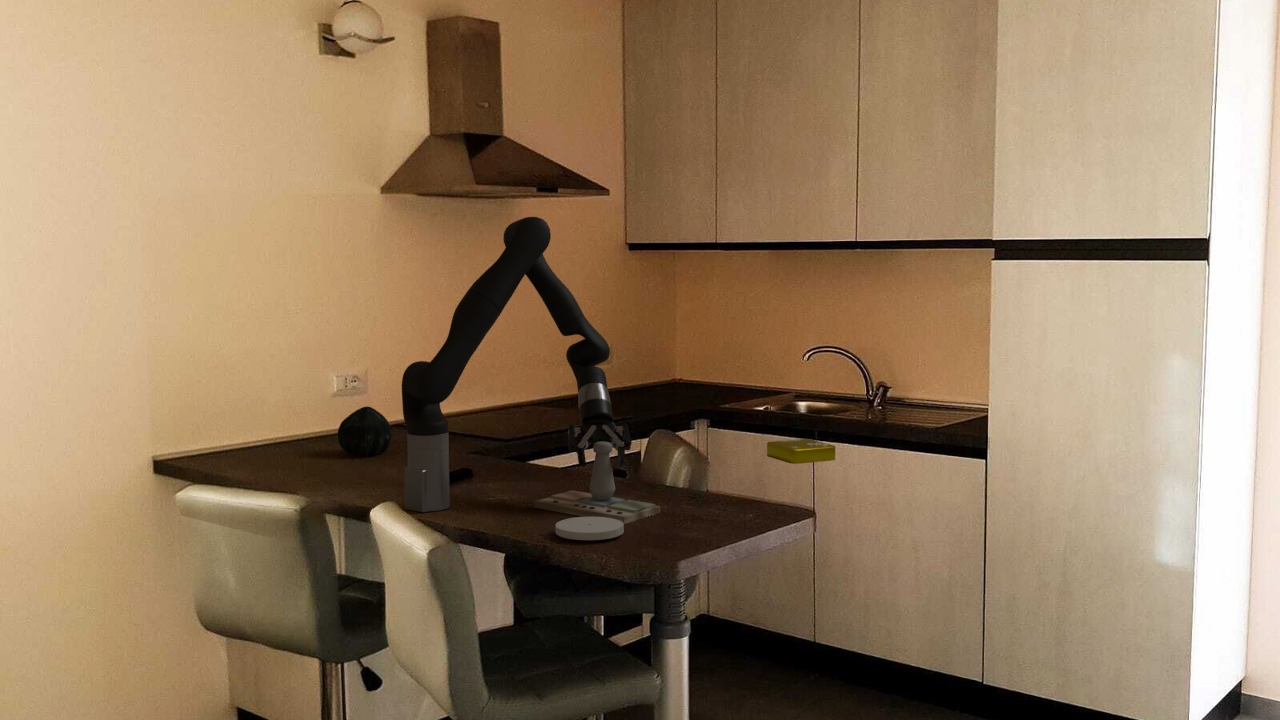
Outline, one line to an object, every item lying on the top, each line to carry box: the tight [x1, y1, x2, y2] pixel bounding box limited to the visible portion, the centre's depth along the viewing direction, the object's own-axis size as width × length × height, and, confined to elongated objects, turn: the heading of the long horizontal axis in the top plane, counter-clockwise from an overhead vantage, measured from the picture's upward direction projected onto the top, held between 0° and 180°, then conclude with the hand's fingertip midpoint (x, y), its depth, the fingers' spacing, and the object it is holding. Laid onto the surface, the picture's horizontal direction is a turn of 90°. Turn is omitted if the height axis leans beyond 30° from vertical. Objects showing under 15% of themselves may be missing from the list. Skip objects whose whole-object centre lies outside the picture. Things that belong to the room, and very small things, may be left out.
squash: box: [337, 406, 392, 457], centre depth 326 cm, size 14×15×15 cm
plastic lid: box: [554, 516, 625, 541], centre depth 233 cm, size 14×14×2 cm
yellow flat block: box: [766, 438, 836, 465], centre depth 321 cm, size 15×15×5 cm
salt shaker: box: [589, 442, 616, 501], centre depth 258 cm, size 6×6×13 cm
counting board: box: [533, 490, 661, 525], centre depth 256 cm, size 13×26×2 cm, turn 53°
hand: (602, 464), depth 255 cm, fingers open, 8 cm apart
